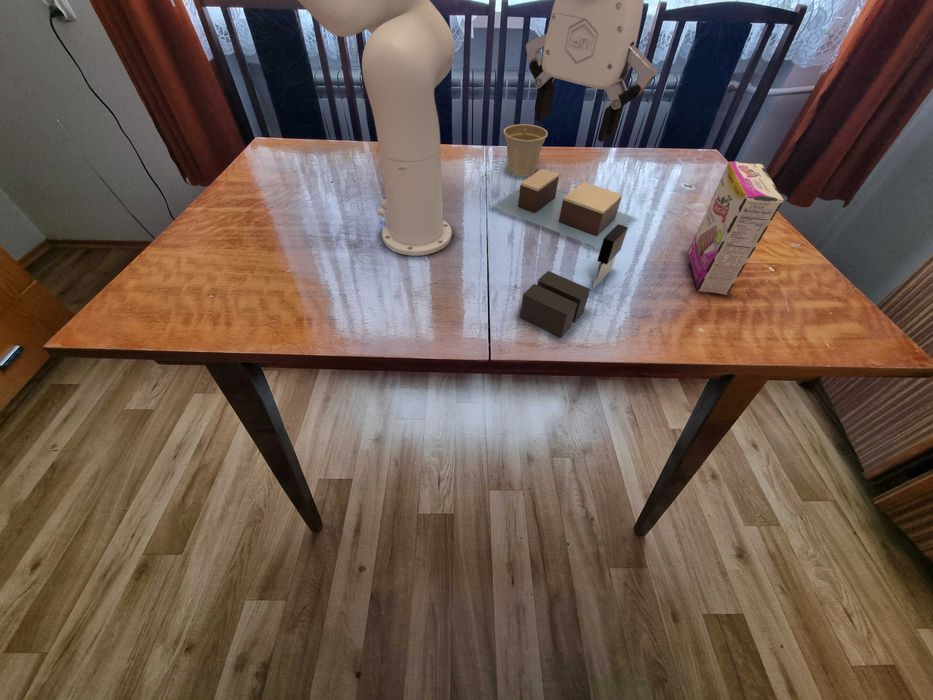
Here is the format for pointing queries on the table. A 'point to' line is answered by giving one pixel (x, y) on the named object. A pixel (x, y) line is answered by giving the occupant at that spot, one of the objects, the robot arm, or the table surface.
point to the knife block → (554, 303)
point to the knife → (609, 251)
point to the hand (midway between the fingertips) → (572, 128)
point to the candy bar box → (732, 226)
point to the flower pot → (524, 147)
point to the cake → (589, 208)
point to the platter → (557, 218)
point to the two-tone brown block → (538, 190)
